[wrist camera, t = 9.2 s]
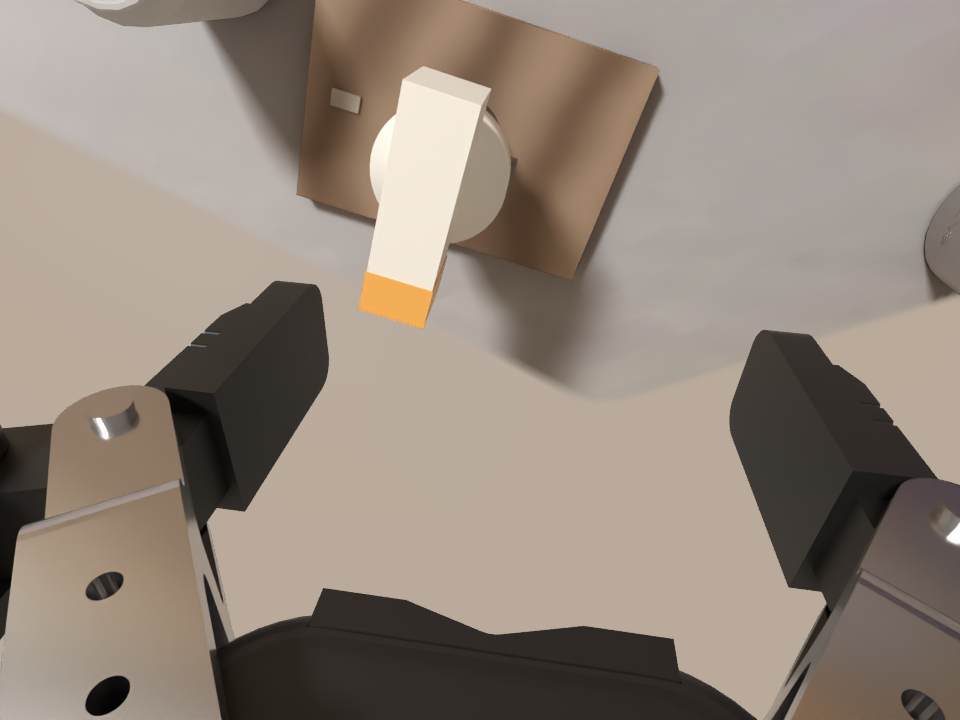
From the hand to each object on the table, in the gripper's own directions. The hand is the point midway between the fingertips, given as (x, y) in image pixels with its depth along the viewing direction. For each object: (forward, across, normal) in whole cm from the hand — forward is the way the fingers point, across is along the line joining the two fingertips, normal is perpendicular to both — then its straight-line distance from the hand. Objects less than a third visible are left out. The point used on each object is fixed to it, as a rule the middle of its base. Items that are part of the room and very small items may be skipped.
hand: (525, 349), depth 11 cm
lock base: (+30, +6, +2) cm, 30 cm away
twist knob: (+22, +5, +2) cm, 22 cm away
